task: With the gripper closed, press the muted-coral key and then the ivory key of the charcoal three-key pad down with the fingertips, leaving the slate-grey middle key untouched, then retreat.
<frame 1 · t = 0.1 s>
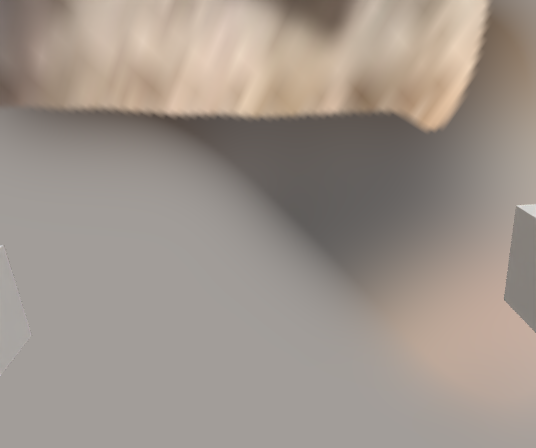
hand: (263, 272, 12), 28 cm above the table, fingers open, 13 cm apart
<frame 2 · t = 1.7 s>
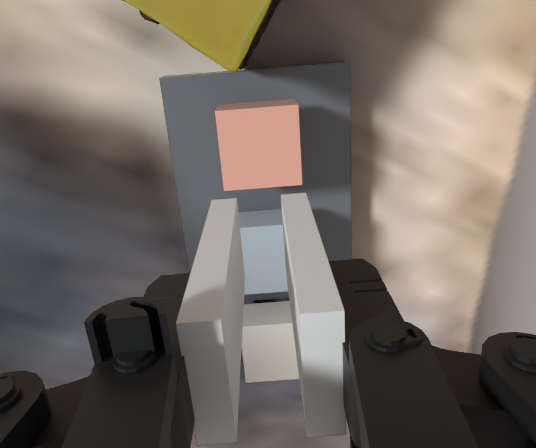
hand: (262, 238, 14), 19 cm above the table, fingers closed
key ivory: (275, 332, 34), point 4 cm above the table, slide at 0.0 cm
key slate: (268, 244, 31), point 4 cm above the table, slide at 0.0 cm
key coral: (259, 140, 28), point 4 cm above the table, slide at 0.0 cm
keypad base: (266, 221, 35), on the table
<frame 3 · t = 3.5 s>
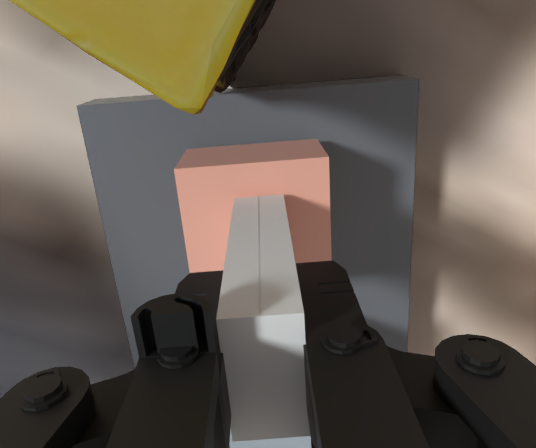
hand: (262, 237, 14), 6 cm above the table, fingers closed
key slate: (272, 386, 18), point 4 cm above the table, slide at 0.0 cm
key coral: (257, 208, 17), point 3 cm above the table, slide at 1.3 cm, touching gripper
keypad base: (269, 326, 22), on the table
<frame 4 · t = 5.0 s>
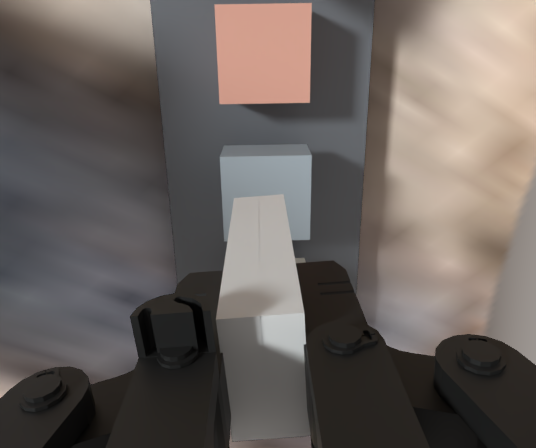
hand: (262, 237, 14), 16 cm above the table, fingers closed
key ivory: (267, 294, 29), point 4 cm above the table, slide at 0.0 cm
key slate: (265, 186, 26), point 4 cm above the table, slide at 0.0 cm
key coral: (263, 54, 25), point 3 cm above the table, slide at 1.4 cm
keypad base: (265, 168, 30), on the table
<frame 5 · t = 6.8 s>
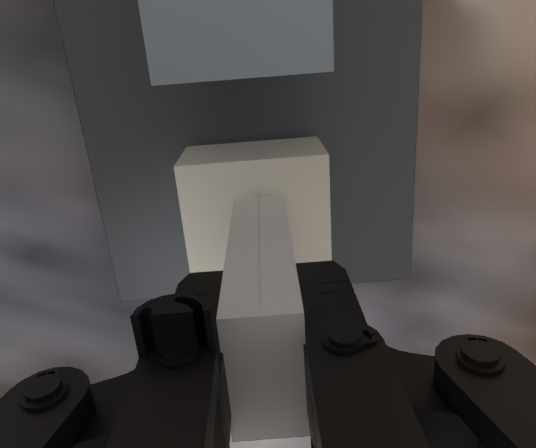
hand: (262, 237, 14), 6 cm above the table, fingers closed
key ivory: (257, 206, 17), point 3 cm above the table, slide at 1.2 cm, touching gripper
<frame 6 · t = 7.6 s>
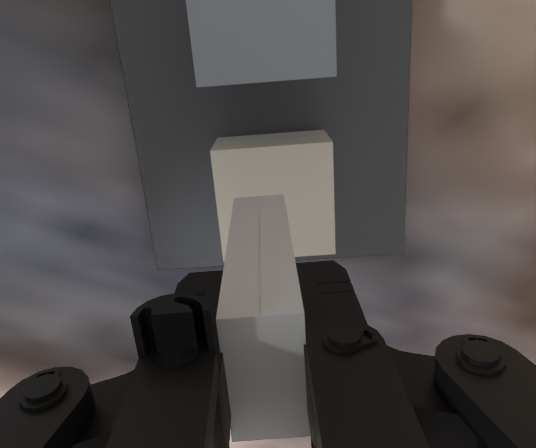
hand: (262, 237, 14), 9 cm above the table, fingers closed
key ivory: (274, 187, 20), point 3 cm above the table, slide at 1.4 cm
key slate: (261, 10, 17), point 4 cm above the table, slide at 0.0 cm
keypad base: (262, 17, 20), on the table
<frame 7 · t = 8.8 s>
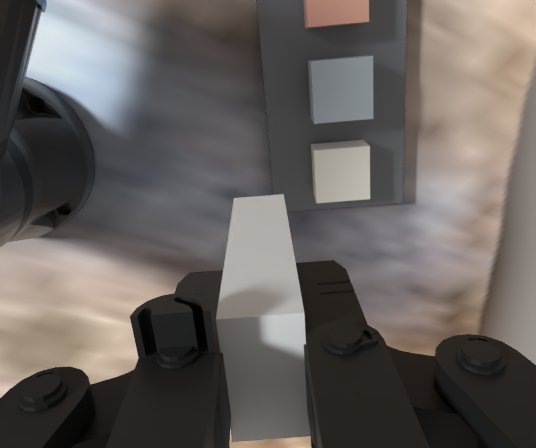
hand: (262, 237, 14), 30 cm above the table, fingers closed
key ivory: (338, 168, 41), point 3 cm above the table, slide at 1.4 cm
key slate: (338, 88, 37), point 4 cm above the table, slide at 0.0 cm
keypad base: (331, 84, 41), on the table
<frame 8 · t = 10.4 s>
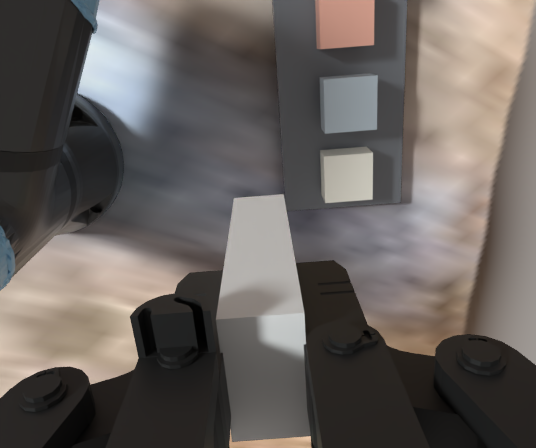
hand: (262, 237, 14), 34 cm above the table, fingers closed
key ivory: (344, 171, 46), point 3 cm above the table, slide at 1.4 cm
key slate: (345, 101, 42), point 4 cm above the table, slide at 0.0 cm
key coral: (342, 19, 41), point 3 cm above the table, slide at 1.4 cm
keypad base: (338, 96, 46), on the table
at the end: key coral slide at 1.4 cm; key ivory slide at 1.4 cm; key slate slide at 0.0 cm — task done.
